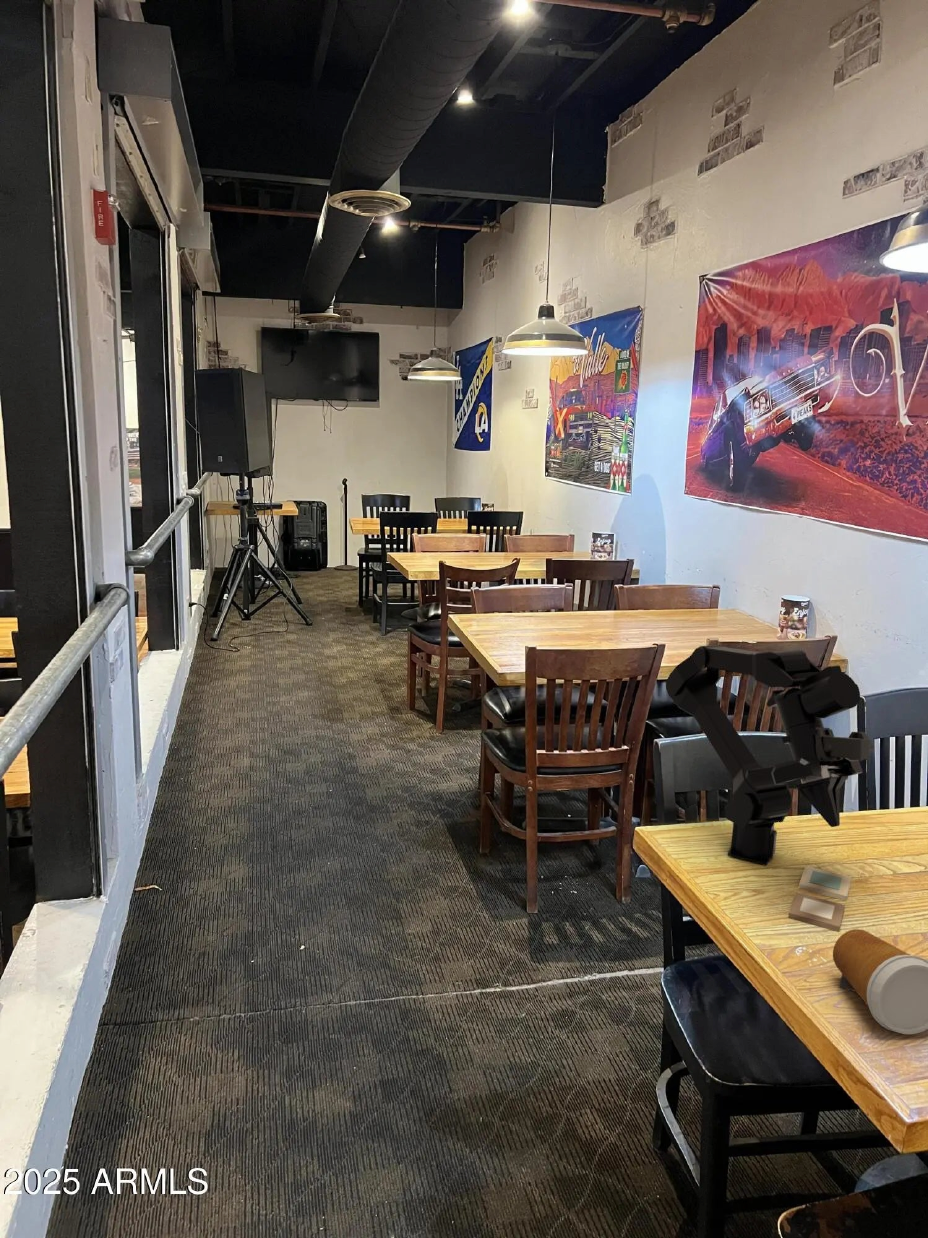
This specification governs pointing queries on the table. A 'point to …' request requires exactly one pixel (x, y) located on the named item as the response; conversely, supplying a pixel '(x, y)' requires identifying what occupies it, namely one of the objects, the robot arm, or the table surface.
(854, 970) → the disposable coffee cup
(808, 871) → the birch marker tile
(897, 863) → the table surface
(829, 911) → the walnut marker tile
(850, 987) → the black coaster
